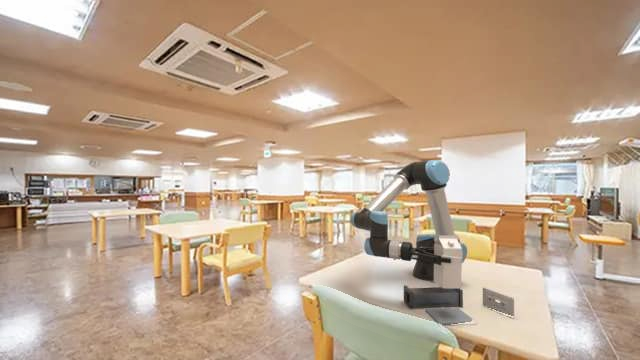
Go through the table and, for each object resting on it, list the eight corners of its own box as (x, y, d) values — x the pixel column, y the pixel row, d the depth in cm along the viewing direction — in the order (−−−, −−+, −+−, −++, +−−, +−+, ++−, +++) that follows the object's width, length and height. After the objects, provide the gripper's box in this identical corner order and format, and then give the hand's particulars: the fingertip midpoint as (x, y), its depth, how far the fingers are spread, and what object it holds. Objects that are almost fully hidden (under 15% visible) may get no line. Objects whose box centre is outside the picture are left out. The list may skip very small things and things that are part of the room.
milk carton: (433, 282, 106) (434, 233, 106) (450, 282, 107) (451, 234, 107) (443, 289, 99) (443, 237, 99) (461, 288, 99) (462, 237, 100)
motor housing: (453, 300, 118) (452, 284, 118) (462, 307, 111) (462, 290, 111) (402, 301, 116) (402, 285, 116) (409, 309, 109) (409, 292, 109)
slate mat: (458, 309, 108) (458, 307, 108) (476, 324, 98) (476, 321, 98) (425, 311, 107) (425, 309, 107) (439, 325, 96) (439, 323, 96)
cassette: (481, 306, 112) (481, 287, 112) (484, 305, 113) (484, 286, 113) (512, 319, 101) (512, 298, 102) (515, 318, 102) (515, 297, 102)
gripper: (407, 253, 121) (463, 261, 110) (394, 266, 102) (460, 277, 91) (407, 237, 121) (463, 242, 110) (394, 246, 102) (460, 255, 91)
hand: (462, 258), depth 101 cm, fingers closed on milk carton, 10 cm apart
